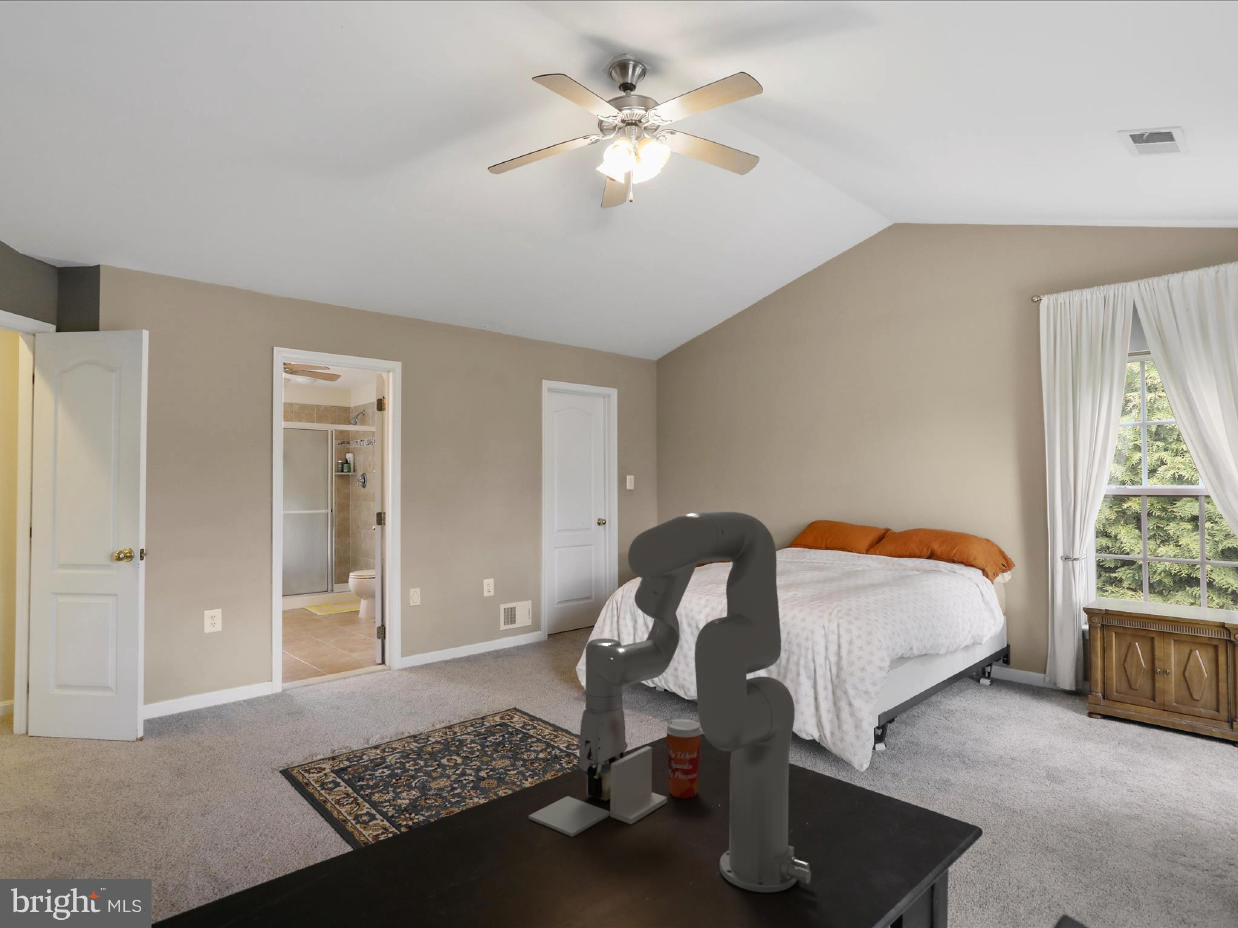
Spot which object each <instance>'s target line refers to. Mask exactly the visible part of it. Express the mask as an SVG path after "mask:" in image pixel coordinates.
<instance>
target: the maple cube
mask: <svg viewBox="0 0 1238 928" xmlns="http://www.w3.org/2000/svg"><path fill="white" fill-rule="evenodd" d="M592 767H593V768H594V769H595V768H596V764H594V765H593V766H592ZM600 777H601V778H602V797H601V798H598V800H602V801H605V802H606V801H608V800H609V799H610V798H611V765H610V764H608V763H607V762H605V761H604V762H602V766H601V772H600ZM586 795H587V796H589V795H588V776H586Z"/></svg>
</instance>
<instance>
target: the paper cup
mask: <svg viewBox="0 0 1238 928" xmlns="http://www.w3.org/2000/svg"><path fill="white" fill-rule="evenodd" d="M665 733H666V748H667V749H666V750H667V763H668V764H667V765H668V767H667V768H668V769H667V770H668V786H669V793H670V795H671V794H672V795H671V796H673V797H675V798H678V797H679V799H690V798H689V797H691V798H693V796H694V797H696V796H697V792H698V783H699V767H700V753H701V752H700V750H701V736H702V734H704V733H703V731H702V728H701V725H700V722H697V721H695V720H692V719H685V718H680V719H679V718H678V719H672V720H670V721H669V722H668V724H667V725H666V727H665Z"/></svg>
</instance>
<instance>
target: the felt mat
mask: <svg viewBox="0 0 1238 928" xmlns="http://www.w3.org/2000/svg"><path fill="white" fill-rule="evenodd" d="M609 816H610V811H609V810H606V809H605V808H604V809H603V808H601V807H598V806H595V805H593V804H590V803H588V802H585V801H582V800H581V799H577V798H574V797H572V796H569V795H567V796H565V797H563V798H561V799H559V800H557V801H554V802H553V803H550V804H548V805H547V806H544V807H543V808H541V809H539V810H537V811H535V812H533V813H531V814H529V815H528V819H529V820H531V821H534V822H535V823H538V824H541V825H542V826H546V827H548V828H550V829H552V830H555V831H557V832H560V833H562V834H565V835H567V836H569V837H571V838H573V837H575V836H576V835H579V834H580V833H581V832H583V831H585V830H587V829H588V828H590V827H592V826H594V825H596V824H597V823H599V822H601V821H603V820H604V819H607V818H608V817H609Z"/></svg>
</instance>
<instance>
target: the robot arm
mask: <svg viewBox="0 0 1238 928" xmlns="http://www.w3.org/2000/svg"><path fill="white" fill-rule="evenodd" d="M771 533H772V532H770V530H769V529H768V527H767V526H766V525H765V524H764V523H763V522H762V521H760V520H759V519H758V518H757V517H754V516H752V515H749V514H747V513H743V512H737V511H714V512H713V511H712V512H690V513H687V514H681V515H680V516H677V517H674V518H672V519H670V520H669V519H668V520H667V521H665V522H662V523H661V524H658V525H655V526H653V527H651V528H648V529H646V530H644V531H642V532H640V533H639V534H638V535H637V536H636V537H634V539H633V540H632V542H631V544H630V545H629V549H628V554H627V562H628V565H629V566H628V567H629V568H630V570H631V571H632V573H633V575H635V576H637V577H638V578H640V582H639V584H638V586H637V589H636V590H635V591H636V592H635V594H634V603H635V606H636V607H637V608H638V609H639V610H640V611H641V612H642V613H643V614H644V615H646V616H648V617H649V618H651V619H653V623H652V626H651V627H650V631H649V633H648V636H647V637H646V639H645V640H643V641H642V640H641V641H639V642H633V643H628V644H624V645H622V644H621V643H622V642H620V641H619V640H618V639H617V640H616V639H614V638H595V639H592V640H590V641H588V642H587V644H586V646H585V709H584V710H583V712H582V716H581V721H580V722H581V723H580V729H579V742H578V743H579V745H578V746H579V748H578V749H579V750H578V755H579V761H578V764H577V766H578V767H579V768H580V769H581V770H582V771H583V772H584V773H585V776H586V777H587V776H588V795H587V796H590V797H594V798H596V799H599V798H601V797H602V778H601V777H600V772H601V766H602V762H604V763H605V761H606V763H607V764H610V765H611V763H614V762H616V761H618V760H620V759H622V758H624V757H625V756H624V755H625V752H626V751H627V750H628V747H629V745H628V743H627V741H626V722H625V720H626V719H625V712H624V707H623V706H624V705H623V687H625V686H630V685H634V684H637V683H641V682H645V681H648V680H649V681H650V680H652V679H656V678H659V677H660V676H661V675H663V674H664V673H665V672H666V671H667V669H668V667H669V666H670V664H671V662H672V660H673V658H674V656H675V653H676V651H677V649H678V647H679V643H680V622H679V619H678V616H677V611H678V609H679V607H680V604H681V602H682V600H683V597H684V595H685V592H686V590H687V589H688V586H689V584H690V581H691V578H692V577H693V574H694V572H695V569H696V568H697V565H698V564H704V563H714V562H723V561H729V562H731V565H732V566H731V568H730V571H729V573H728V577H727V579H726V590H725V595H726V616H722V617H718V618H715V619H714V618H713V619H712V620H710V621H707V623H706V624H705V625H703V626H702V628H701V629H700V631H699V633H698V635H697V637H696V641H695V644H694V645H695V646H694V668H695V669H694V671H695V685H696V686H695V687H696V700H697V701H696V703H697V715H698V721H699V724H700V726H701V729H702V731H703V733H702V734H703V735H704V737H705V739H706V740H707V741H708V743H710V744H711V746H713V747H714V748H715V749H717V750H719V751H722V752H731V755H730V764H729V821H728V822H729V825H728V827H729V834H728V839H729V840H728V841H729V845H728V847H729V848H728V850H726V852H724V853H723V854H722V855H721V857H720V858H719V871H720V874H721V875H722V876H723V878H725V879H726V880H727V881H728V882H730V884H732V885H734V886H736V887H739V888H741V889H743V890H747V891H751V892H756V893H770V894H771V893H779V892H782V891H785V890H787V889H790V888H791V887H792V886H793V885H795V884H796V883H797V881H799V882H801V883H805V884H807V885H808V884H810V881H811V877H812V872H811V870H810V866H811V865H810V863H809V862H807V861H804V860H799V859H797V857H796V856H794V855H795V847H794V846H792V845H789V779H790V778H789V773H790V772H789V771H790V767H789V766H790V750H791V749H790V748H791V742H792V741H791V740H792V736H793V729H794V725H795V716H796V715H795V714H796V711H795V709H796V708H795V704H794V703H795V702H794V698H793V696H792V694H791V692H790V690H789V689H788V687H787V686H786V685H785V684H784V683H783V682H781V681H780V680H778V679H776V678H774V677H770V676H755V677H750V678H748V679H747V675H749V674H752V673H756V672H759V671H762V670H765V669H767V668H770V667H771V666H773V665H774V664H775V663H777V661H778V660H779V658H780V656H781V652H782V634H781V633H782V632H781V622H780V610H779V609H780V607H779V597H778V586H777V585H778V584H777V561H778V560H777V550H776V543H775V540H774V538H773V534H771ZM594 765H596V768H595V769H594V768H593V766H594Z"/></svg>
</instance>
